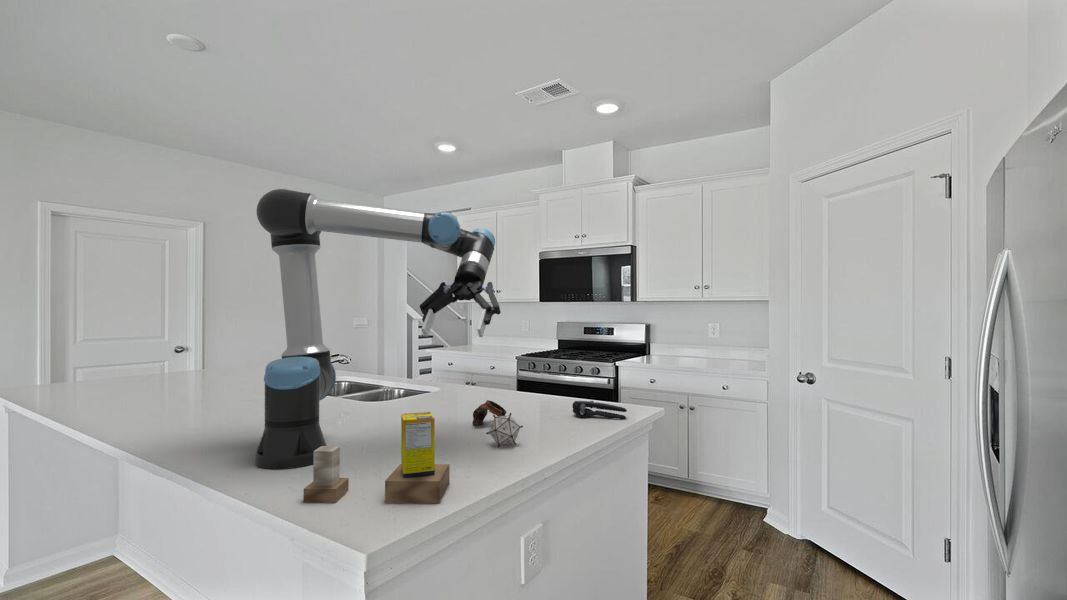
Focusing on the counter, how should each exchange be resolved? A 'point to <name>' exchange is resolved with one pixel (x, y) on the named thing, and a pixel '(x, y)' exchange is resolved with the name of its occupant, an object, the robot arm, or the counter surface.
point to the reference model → (326, 477)
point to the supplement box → (417, 444)
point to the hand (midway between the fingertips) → (451, 333)
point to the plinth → (417, 486)
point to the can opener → (582, 411)
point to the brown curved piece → (483, 410)
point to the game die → (504, 430)
